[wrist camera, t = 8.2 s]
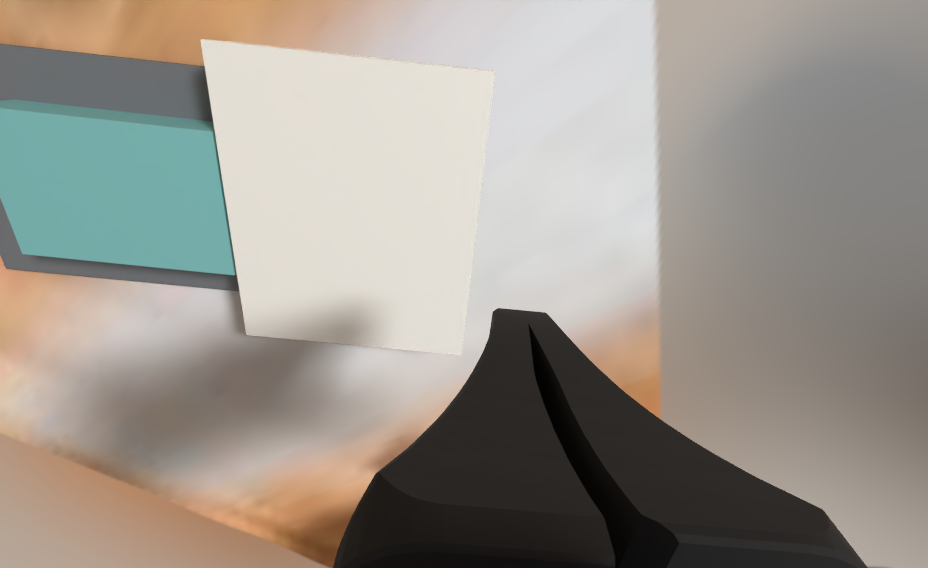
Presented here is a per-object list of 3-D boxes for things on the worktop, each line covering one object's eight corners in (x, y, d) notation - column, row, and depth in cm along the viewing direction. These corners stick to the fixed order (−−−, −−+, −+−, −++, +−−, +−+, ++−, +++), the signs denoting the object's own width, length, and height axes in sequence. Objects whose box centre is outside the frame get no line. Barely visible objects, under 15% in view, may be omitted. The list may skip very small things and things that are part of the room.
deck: (462, 326, 23) (461, 355, 21) (268, 307, 22) (246, 335, 20) (492, 70, 17) (495, 72, 15) (236, 41, 17) (200, 39, 15)
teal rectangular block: (254, 256, 21) (234, 275, 19) (61, 237, 21) (22, 254, 19) (238, 124, 18) (212, 131, 16) (14, 99, 18) (-37, 104, 16)
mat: (256, 289, 22) (253, 292, 22) (11, 266, 22) (6, 268, 21) (227, 68, 17) (223, 69, 17) (-84, 34, 17) (-93, 34, 17)
